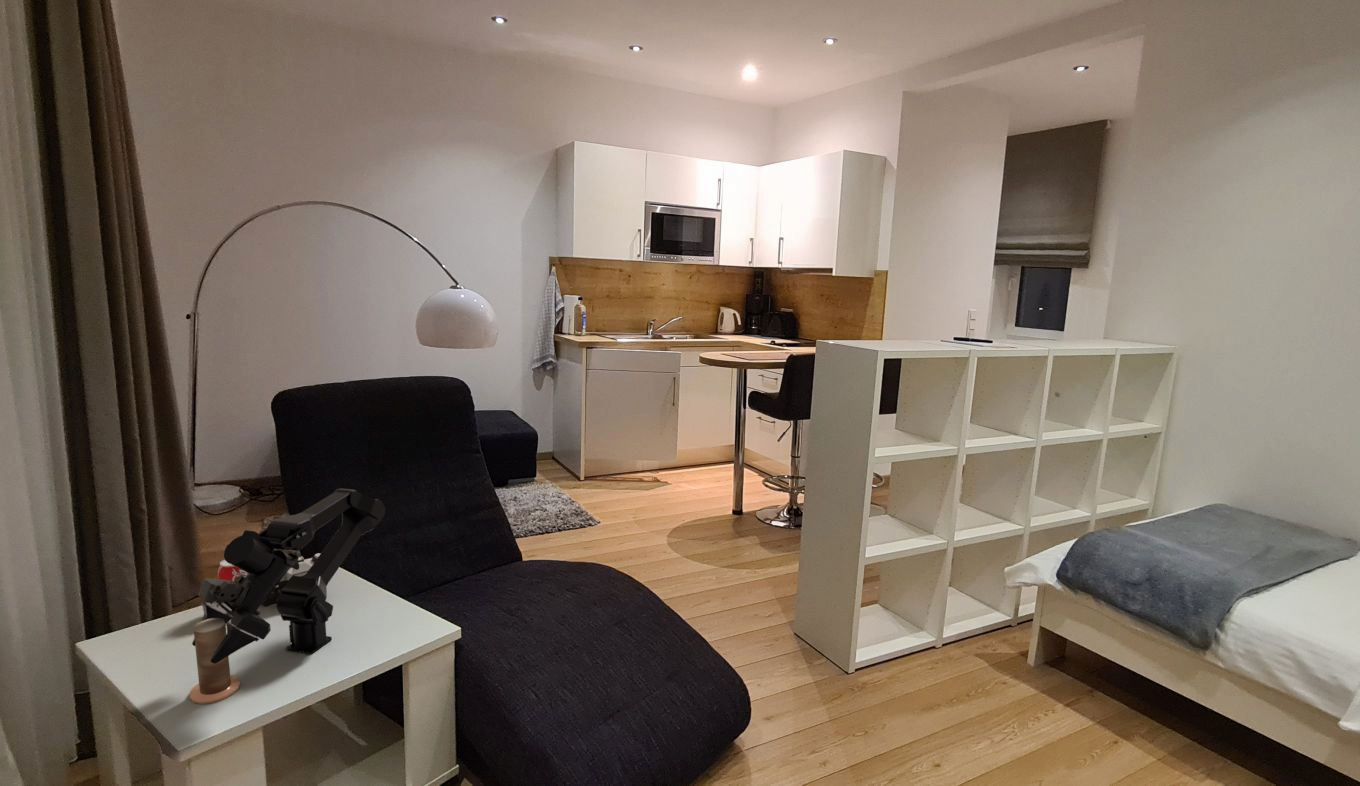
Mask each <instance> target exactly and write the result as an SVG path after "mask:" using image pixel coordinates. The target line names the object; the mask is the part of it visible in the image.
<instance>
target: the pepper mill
mask: <svg viewBox="0 0 1360 786" xmlns="http://www.w3.org/2000/svg"><path fill="white" fill-rule="evenodd" d="M193 628H194V629H193V636H194V638H195V646H194V649H195V656H196V665H197V666H196V667H197V677H198V684H199V688H200V693H201V694H204V695H211V694H216V693H219V692H222V691H224V690H226V689H227V688H228V687H229V686H230V685H231V678H230V676H231V670H230V660H229V659H230V658H229V657H230V656H227V657H226V658H224V659H222V660H221V661H219V662H217V663H216V664H214V663H212V662H210V660H211V658H212V656H213V655H214V653H215V651H216V650H217V648H218V647H219V645H220V644H221V642H222V641H223V639H224V638H225V636H226V635H227V623H226V624H225V621H224V619H222V618H211V619H207V620H204V621H202V620H201V621H199V622H197V623H195V625H194V627H193Z"/></svg>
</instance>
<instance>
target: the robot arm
mask: <svg viewBox="0 0 1360 786" xmlns="http://www.w3.org/2000/svg"><path fill="white" fill-rule="evenodd" d="M340 515H341V525H340V526H339V527H338V529H337V531H336V532H335V533H334V534H333V536H332V537H331V539H330V540H329V542H328V543H327V544H326V546H325V547H324V549H323V550H322V551H321V553H320V555H319V557H318V558H317V560H316V561H315V562H314V564H313V565H312V566H311V568H310V569H309V571H308V572H307V573H306V574H305V575H303V576H292V577H291V578H290V579H289V581H288V582H287V584H286V585H285V587H284V588H282V589H281V590H280V592H281V594H280V595H279V597H278V599H277V602H276V605H275V606H276V609H277V612H278V614H279V615H280V617H281V620H282V621H286V622H287V621H288V622H289V625H288V629H289V641H290V644H289V645H288V646H286V647H285V649H286V651H291V652H298V653H303V654H314V653H315V652H317V651H318V650H319V649H321V648H322V647H323V646H325V645H326V644H328V643H329V642H330V641H332V639H333V637H332V636H329V635H327V624H326V622H328V621H329V618H330V617H332V616H333V610H334V605H332V604H331V603H329V601H327V595H328V594H327V592H328V591H327V590H328V589H327V586H328V584H329V583H330V581H331V580H332V579H333V577H334V575H336V573H337V571H338V570H339V568H340V567H341V565H342V564H343V562H344V561H345V559H346V558H347V557H348V555H349V554H350V552H351V551H352V549H353V548H354V546H355V545H356V544H357V542H358V541H359V539H360V538H361V537H362V536H363V535H365V534H366V533H368V532H371V531H372V530H373V529H375V528H376V527H377V526H378V524H379V523H380V522H381V521H382V520H383V518H384V517H385V515H386V506H385V505H384V503H383V501H382V500H380V499H379V498H377V499H376V498H373V497H370V496H368V495H366V494H362V493H361V492H360V491H357V490H356V489H350V488H343V487H342V488H341V487H340V488H337V489H335V490H333V492H332V493H331V494H329V495H328V496H326V497H324V498H323V499H321V500H320V501H317V502H316V503H315V504H313V505H311V506H310V507H308V508H306V509H304V510H303V511H301V512H299V513H296V514H291V515H285V516H283V517H280V518H277V519H275V520H272V521H271V522H270V523H269V524H268V525H267V527H266V528H264V529H263V530H261V531H260V532H259V533H258V532H256V531H255V530H249V529H246V530H244V531H243V532H242V535H240V536H237V537H236V538H234V539H233V540H232V541H230V542H229V544H226V546H225V549H224V551H223V557H224V559H223V560H225V561H226V562H228V563H230V564H232V565H233V566H235V567H237V568H239V569H241V570H243V571H245V572H248V574H247V575H246V576H243V575H241V576H238V577H237V579H236V580H235V581H228V580H221V579H218V578H211V577H210V578H208V577H205V578H204V580H203V582H202V583H201V587H200V590H199V592H198V595H197V596H199V597H200V599H202V600H203V601H202V602H201V606H202V610H203V617H202V619H201V621H204V620H207V619H211V618H222V619H224V621H225V624H226V636H225V638H224V639H223V641H222V642H221V644H220V645H219V647H218V648H217V650H216V651H215V653H214V655H213V656H212V658H211V660H210V662H212V663H214V664H216V663H217V662H219V661H221V660H222V659H224V658H226V657H227V656H228V657H230V656H231V655H232V654H234V653H236V652H237V651H238V650H241V649H243V648H245V647H246V646H247V645H249V644H252V643H254V642H258V641H260V639H261V640H265V639H266V638H267V636H268V635H269V634H270V632H271V631H272V629H271V623H269V622H268V621H266V620H265V619H264V618H262V617H260V614H261V612H259V609H260V607H262V604H263V602H264V601H265V600H266V598H267V597H269V598H271V599H272V598H273V596H274V595H275V594H274V593H273V592H272V591H273V589H274V588H275V587H276V586H277V584H278V583H279V582H280V580H281V579H282V578H283V577H284V575H285V574H286V573H287V571H288V570H289V569H290V568H291V567H292V568H294V569H296V570H298V569H299V562H298V558H299V556H298V555H296V554H294V552H290V553H286V552H283V551H300V550H302V549H304V547H306V546H307V545H308V544H309V543H310V542H311V541H312V540H313V539H314V536H315V532H316V531H317V530H319V529H320V528H323V526H325V525H326V524H328V523H329V522H331V521H333V520H334V519H335V518H337V517H338V516H340ZM281 550H283V551H281ZM227 612H228V613H227ZM229 621H230V623H229ZM191 645H192V646H194V647H195V638H194V639H193V640H192V643H191Z"/></svg>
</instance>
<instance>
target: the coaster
mask: <svg viewBox="0 0 1360 786" xmlns="http://www.w3.org/2000/svg"><path fill="white" fill-rule="evenodd" d="M230 678H231V685H230V686H229V687H228V688H227V689H226V690H224V691H222V692H219V693H216V694H211V695H204V694H201V693H200V688H199V683H198V684H196V685H195V686H194V687H192V688H191V690H190V691H189V700H190V701H191V702H192V703H194V704H199V705H200V704H201V705H205V704H213V703H217V702H219V701H223V700H225V699H227V698H229V697H231V696H233V695H234V694H236V693H237V691H238V690H239V689H240V686H241V685H240V682H241V681H240V679H239V678H238V677H236V676H235V675H230Z"/></svg>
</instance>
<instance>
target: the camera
mask: <svg viewBox="0 0 1360 786" xmlns="http://www.w3.org/2000/svg"><path fill="white" fill-rule="evenodd" d="M320 554H321V553H319V552H318V553H315V554H314V555H313V556H312V557H310V558H306V559H305V558H304V557H303V556H302V555H301V556H300V557H299V556H298V557H299V558H298V562H299V569H298V570H296V569H294V568H292V567H291V568H290V569H289V570H288V571H287V573H286V574H285V575H284V577H283V578H282V579H281V580H280V582H279V583H278V584H277V586H276V587H275V588H274V589H273V591H272V592H273V593H274V594H275V595H274V596H273V598H272V599H271V598H269V597H267V598H266V600H265V601H264V602H263V604H262V605H261V607H262V608H263V609H267V608H270V607H273V606H276V602H277V599H278V597H279V595H280V594H281V592H280V590H281V589H282V588H284V587H285V585H286V584H287V582H288V581H289V579H290V578H291V577H292V576H303V575H305V574H306V573H307V572H308V571H309V569H310V568H311V566H312V565H313V564H314V562H315V561H316V560H317V558H318V557H319V555H320Z"/></svg>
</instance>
